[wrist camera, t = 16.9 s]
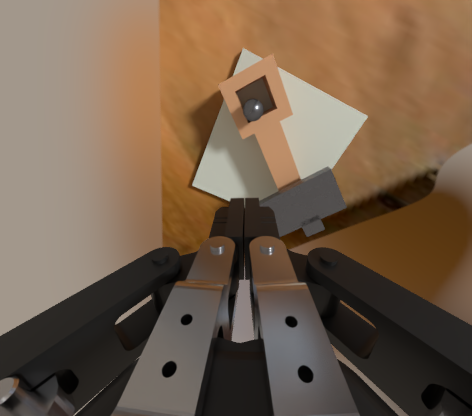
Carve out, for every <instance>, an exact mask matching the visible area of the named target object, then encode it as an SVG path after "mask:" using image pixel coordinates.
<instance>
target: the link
mask: <svg viewBox="0 0 472 416" xmlns="http://www.w3.org/2000/svg"><path fill="white" fill-rule="evenodd" d="M261 78H263V81H264V83H265V86H266V89H267V92H268V94H269V97H270V100H271V103H272V105H273V107H272V108H270V109H268V110H266V111H264V112H263V114H262V116H261V118H260V119H259V120H257V121H249V120H247V119H246V118H245V116H244V114H243V107H242V105H241V102H240V100H239V97H238V95H237V93H236V92H238V91H240V90H241V89H243V88H245V87H247V86H249V85H251V84H252V83H254V82H256V81H258V80H260V79H261ZM218 86H219V88H220V91H221V93H222V95H223V97H224V100H225V102H226V104H227V106H228V108H229V111H230V113H231V115H232V117H233V120H234V122H235V124H236V126H237V128H238V131H239V133H240V135H241V137H242V139H244V138H246V137H249V136H251V135H253V134H255V136H256V138H257V140H258V143H259V145H260V148H261V150H262V152H263V155H264V157H265V160H266V162H267V164H268V167H269V169H270V171H271V174H272V176H273V179H274V181H275V183H276V186H277V188H278V190H279V191H280V190H282V189H284V188H286V187H288V186H290V185H292V184H294V183H296V182H298V181H300V180H301V178H300V176H299V173H298V170H297V167H296V164H295V162H294V159H293V156H292V153H291V151H290V148H289V145H288V142H287V140H286V137H285V134H284V131H283V128H282V126H281V123H280V121H281V120H283V119H285V118H287V117H289V116H291V115H293V113H292V110H291V107H290V104H289V101H288V98H287V95H286V92H285V89H284V86H283V83H282V80H281V77H280V74H279V71H278V68H277V65H276V62H275V59H274V56H273V54H271V55H269V56H267V57H266V58H264V59H262V60H260V61H259V62H257V63H255V64H253V65H252V66H250V67H248V68H246V69H245V70H243V71H241V72H239V73H238V74H236V75H234V76H232V77H231V78H229V79H227V80H225V81H224V82H222V83H220V84H218Z"/></svg>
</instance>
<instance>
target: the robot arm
mask: <svg viewBox="0 0 472 416" xmlns="http://www.w3.org/2000/svg"><path fill="white" fill-rule="evenodd" d="M244 253H245V277H246V278H245V279H246V280H250V301H251V310H252V320H253V331H254V340H251V341H247V342H244V343H236V342H233V341H232V331H233V325H234V318H235V311H236V303H237V296H238V295H237V294H238V288H239V280H243V279H244ZM149 295H151V297H152V299H151V300H150V301H149V302H147V303H146V304H145V305H143V306H142V307H140V308H139V309H138V310H136V311H135V312H134V313H132V314H131V315H129V316H128V317H127V318H125V319H124V320H123V321H121V322H120V323H118V324H116V325H115V322H116V321H117V319H118V318H119V317H120V316H121V315H122V314H124V313H125V312H127V311H128V310H129V309H131V308H132V307H134V306H135V305H137V304H138V303H139V302H141V301H142V300H144V299H145V298H146V297H148V296H149ZM340 300H342V301H343V302H345V303H346V304H347V305H349V306H350V307H352V308H353V309H354V310H356V311H357V312H358V313H360V314H361V315H363V316H364V317H365V318H367V319H368V320H369V321H370V322H372V324H374V326H375V327H376V328H374V327H373V326H372V325H370V324H369V323H367V322H366V321H365V320H363V319H362V318H361V317H359V316H358V315H357V314H355V313H354V312H353V311H351V310H350V309H349V308H347V307H346V306H344V305H343V304H342V303H340ZM331 344H332V345H333V346H334V347H335V348H336V349H337V350H338V351H339V352H341V353H342V354H343V355H344V356H345V357H346V358H347V359H348V360H349V361H350V362H351V363H352V364H353V365H355V366H356V367H357V368H358V369H359V370H360V371H361V372H362V373H363V374H364V375H365V376H367V377H368V378H369V379H370V380H371V381H372V382H373V383H374V384H375V385H376V386H377V387H378V388H379V389H381V390H382V391H383V392H384V393H385V394H386V395H387V396H388V397H389V398H390V399H391V400H393V401H394V402H395V403H396V404H397V405H398V406H399V407H400V408H401V409H402V410H403V411H404V412H406V413H407V414H408V415H409V416H472V325H470V324H468V323H466V322H464V321H463V320H461V319H459V318H457V317H455V316H454V315H452V314H450V313H448V312H446V311H445V310H443V309H441V308H439V307H437V306H436V305H433V304H432V303H430V302H428V301H427V300H425V299H423V298H421V297H419V296H418V295H416V294H414V293H412V292H410V291H408V290H407V289H405V288H403V287H401V286H400V285H398V284H396V283H394V282H392V281H390V280H389V279H387V278H385V277H383V276H382V275H380V274H378V273H376V272H374V271H373V270H371V269H369V268H367V267H365V266H364V265H362V264H360V263H358V262H356V261H354V260H353V259H351V258H349V257H347V256H345V255H344V254H342V253H340V252H338V251H336V250H333V249H330V248H315V249H313V250H311V251H310V252H309V253H308V256H307V255H302V254H298V253H294V252H292V251H290V250H288V249H286V247H285V245H284V243H283V242H282V241H281V240H280V237H279V232H278V228H277V223H276V219H275V214H274V211H273V210H272V209H271V208H270V207H260V205H259V198H245V211H244V198H231V199H230V205H229V207H221V208H220V209H218V210H217V211H216V213H215V217H214V221H213V224H212V228H211V232H210V236H209V239H207V240H205V241H204V242H203V243H202V244H201V246H200V248H199V250H198V251H197V252H194V253H191V254H186V255H182V256H180V255H179V252H178V251H177V250H176V249H174V248H170V247H162V248H158V249H155V250H153V251H151V252H149V253H147V254H145V255H144V256H142V257H140V258H138V259H136V260H135V261H133V262H131V263H129V264H128V265H126V266H124V267H122V268H120V269H119V270H117V271H115V272H114V273H111V274H110V275H108V276H106V277H104V278H103V279H101V280H99V281H98V282H96V283H94V284H92V285H90V286H88V287H87V288H85V289H83V290H81V291H80V292H78V293H76V294H74V295H73V296H71V297H69V298H67V299H65V300H64V301H62V302H60V303H58V304H56V305H55V306H53V307H51V308H49V309H48V310H46V311H44V312H42V313H40V314H39V315H37V316H35V317H33V318H32V319H30V320H28V321H26V322H24V323H23V324H21V325H19V326H17V327H16V328H14V329H12V330H10V331H9V332H7V333H5V334H3V335H2V336H0V416H73V415H74V414H75V413H76V412H77V411H78V410H79V409H80V408H82V407H83V406H84V405H85V404H86V403H87V402H88V401H90V400H91V399H92V398H93V397H94V396H95V395H96V394H98V393H99V392H100V391H101V390H102V389H103V388H104V387H105V388H104V389H103V390H102V391H101V392H100V393H99V394H98V395H97V396H96V397H94V398H93V399H92V400H91V401H90V402H89V403H88V404H87V405H86V406H85V407H84V408H83V409H82V410H81V411H79V412H78V413H77V414H76V415H75V416H398V415H397V414H396V413H395V412H394V411H393V410H392V409H391V408H390V407H389V406H388V405H387V404H386V403H385V402H384V401H383V400H382V399H381V398H380V397H379V396H378V395H377V394H376V393H375V392H374V391H373V390H372V389H371V388H370V387H369V386H368V385H367V384H366V383H365V382H364V381H363V380H362V379H361V378H360V377H359V376H358V375H357V374H356V373H355V372H354V371H353V370H351V369H350V368H349V367H348V366H346V365H345V364H344V363H342V362H341V361H339V360H338V359H337V358H336V356H335V353H334V351H333V348H332V346H331ZM139 356H140V358H138V357H139ZM137 358H138V359H137ZM136 359H137V360H136ZM135 360H136V361H135ZM113 379H114V380H113ZM112 380H113V381H112ZM111 381H112V382H111ZM110 382H111V383H110ZM109 383H110V384H109Z"/></svg>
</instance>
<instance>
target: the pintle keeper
mask: <svg viewBox="0 0 472 416" xmlns="http://www.w3.org/2000/svg"><path fill="white" fill-rule="evenodd" d="M243 114H244V116H245V118H246V119H247V120H249V121H257V120H259V119H260V118H261V116H262V114H263V105H262V103H261V102H260V101H259V100H256V99H249V100H247V101H246V102H245V104H244V108H243ZM259 205H260V207H270V208H271V209H272V210H273V211H274V214H275V219H276V223H277V228H278V232H279V237H281V236H283V235H285V234H288V233H290V232H292V231H294V230H297V229H299V228H301V227H302V228H303V230H304V232H305V234H306V236H307V237H308V236H310V235H313V234H315V233H317V232H320V231H322V230H324V229H325V228H324V226H323V224H322V222H321V220H320V219H322V218H324V217H326V216H328V215H331V214H333V213H335V212H338V211H340V210H342V209H344V208H347V207H346V205H345V202H344V200H343V197H342V195H341V192H340V190H339V188H338V185H337V183H336V180H335V178H334V175H333V173H332V171H331V169H330V168H329V167H328V166H327V167H325V168H323V169H321V170H319V171H317V172H315V173H314V174H312V175H310V176H308V177H306V178H304V179H302V180H300V181H298V182H296V183H294V184H292V185H290V186H288V187H286V188H284V189H282V190H280V191H278V192H276V193H274V194H272V195H270V196H268V197H266V198H264V199H262V200H260V201H259Z"/></svg>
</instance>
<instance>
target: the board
mask: <svg viewBox="0 0 472 416" xmlns="http://www.w3.org/2000/svg"><path fill="white" fill-rule="evenodd" d="M260 60H262V58H260V57H259V56H257V55H255V54H253V53H251V52H249V51H248V50H246V49H244V48H243V50H242V53H241V55H240V58H239V61H238V63H237V66H236V69H235V71H234V74H233V76H234V75H236V74H238V73H239V72H241V71H243V70H245V69H246V68H248V67H250V66H252V65H253V64H255V63H257V62H259V61H260ZM277 68H278V71H279V74H280V77H281V80H282V83H283V86H284V89H285V92H286V95H287V98H288V101H289V104H290V107H291V110H292V113H293V115H291V116H289V117H287V118H285V119H283V120H281V121H280V123H281V126H282V128H283V131H284V134H285V137H286V140H287V142H288V145H289V148H290V151H291V153H292V156H293V159H294V162H295V164H296V167H297V170H298V173H299V176H300V178H301V180H302V179H304V178H306V177H308V176H310V175H312V174H314V173H315V172H317V171H319V170H321V169H323V168H325V167H327V166H328V167H329V168H330V169H331V170H332V168H333V167H334V165H335V164H336V162H337V161H338V160H339V158H340V157H341V155H342V154H343V152H344V151H345V149H346V148H347V146H348V145H349V144H350V142H351V141H352V139H353V138H354V136H355V135H356V133H357V132H358V130H359V129H360V128H361V126H362V125H363V123H364V122H365V120H366V119H367V117H368V116H367V115H365V114H363V113H361V112H359V111H357V110H356V109H354V108H352V107H350V106H348V105H346V104H345V103H343V102H341V101H339V100H337V99H335V98H334V97H332V96H330V95H328V94H326V93H324V92H323V91H321V90H319V89H317V88H315V87H313V86H312V85H310V84H308V83H306V82H304V81H302V80H301V79H299V78H297V77H295V76H293V75H291V74H290V73H288V72H286V71H284V70H282V69H281V68H279V67H277ZM236 93H237V95H238V97H239V100H240V102H241V105H242V107H243V108H244V104H245V102H246V101H247V100H249V99H256V100H259V101H260V102H261V103H262V105H263V112H264V111H266V110H268V109H270V108H272V107H273V105H272V103H271V100H270V97H269V94H268V92H267V89H266V86H265V83H264V81H263V78H261V79H260V80H258V81H256V82H254V83H252V84H251V85H249V86H247V87H245V88H243V89H241V90H240V91H238V92H236ZM192 186H194V187H197V188H199V189H201V190H204V191H206V192H208V193H211V194H213V195H216V196H218V197H220V198H223V199H225V200H228V201H230V199H231V198H244V208H245V198H259V201H260V200H262V199H264V198H266V197H268V196H270V195H272V194H274V193H276V192H278V191H279V190H278V188H277V186H276V183H275V181H274V179H273V176H272V174H271V171H270V169H269V167H268V164H267V162H266V160H265V157H264V155H263V152H262V150H261V148H260V145H259V143H258V140H257V138H256V136H255V134H253V135H251V136H249V137H246V138H244V139H242V137H241V135H240V133H239V131H238V128H237V126H236V124H235V122H234V120H233V117H232V115H231V113H230V111H229V108H228V106H227V104H226V102H225V100H224V101H223V104H222V106H221V109H220V112H219V114H218V117H217V120H216V122H215V125H214V128H213V130H212V133H211V136H210V139H209V141H208V144H207V147H206V149H205V152H204V155H203V157H202V160H201V163H200V165H199V168H198V171H197V173H196V176H195V179H194V181H193V184H192Z"/></svg>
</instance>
